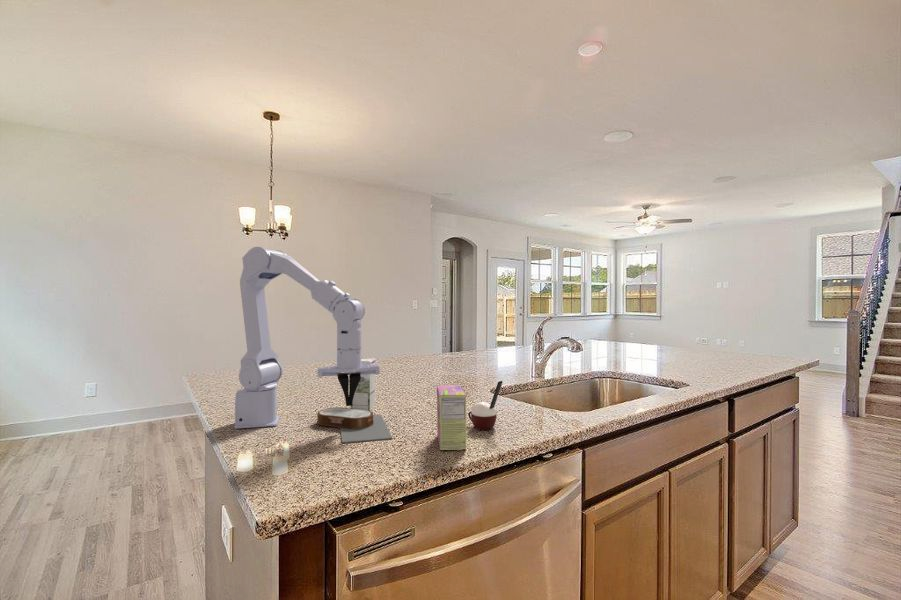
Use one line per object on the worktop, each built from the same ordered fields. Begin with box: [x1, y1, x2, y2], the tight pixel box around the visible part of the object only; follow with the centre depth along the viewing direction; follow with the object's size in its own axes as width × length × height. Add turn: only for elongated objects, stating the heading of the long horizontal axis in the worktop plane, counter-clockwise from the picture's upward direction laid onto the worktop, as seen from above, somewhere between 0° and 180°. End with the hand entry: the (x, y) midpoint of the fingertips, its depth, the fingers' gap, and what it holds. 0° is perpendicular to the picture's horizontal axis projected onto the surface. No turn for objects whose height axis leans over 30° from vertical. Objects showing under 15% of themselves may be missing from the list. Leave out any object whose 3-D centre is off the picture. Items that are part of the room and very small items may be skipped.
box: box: [436, 384, 467, 451], centre depth 95 cm, size 10×6×12 cm, turn 5°
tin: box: [316, 407, 374, 429], centre depth 109 cm, size 15×3×8 cm
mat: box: [339, 414, 393, 444], centre depth 106 cm, size 11×20×1 cm, turn 17°
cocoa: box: [467, 380, 503, 431], centre depth 106 cm, size 10×6×12 cm, turn 29°
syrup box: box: [350, 357, 376, 412], centre depth 123 cm, size 6×6×14 cm
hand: (348, 404), depth 105 cm, fingers closed
